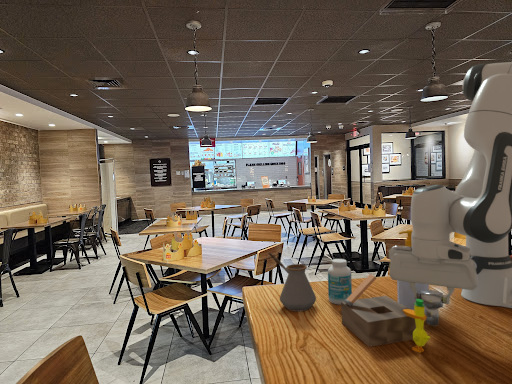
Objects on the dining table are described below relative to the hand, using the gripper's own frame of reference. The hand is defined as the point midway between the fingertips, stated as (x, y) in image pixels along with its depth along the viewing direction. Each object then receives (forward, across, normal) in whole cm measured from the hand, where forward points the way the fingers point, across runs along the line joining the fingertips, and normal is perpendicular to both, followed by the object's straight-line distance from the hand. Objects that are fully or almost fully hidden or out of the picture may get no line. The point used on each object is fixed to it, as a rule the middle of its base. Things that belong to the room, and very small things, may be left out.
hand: (431, 300), depth 89 cm
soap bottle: (+8, -7, +11) cm, 15 cm away
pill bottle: (+8, -28, +7) cm, 30 cm away
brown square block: (+7, -12, -8) cm, 16 cm away
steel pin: (+6, 0, 0) cm, 6 cm away
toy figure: (+8, -1, -13) cm, 15 cm away
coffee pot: (+8, -42, -1) cm, 43 cm away
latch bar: (-2, -16, -7) cm, 18 cm away
